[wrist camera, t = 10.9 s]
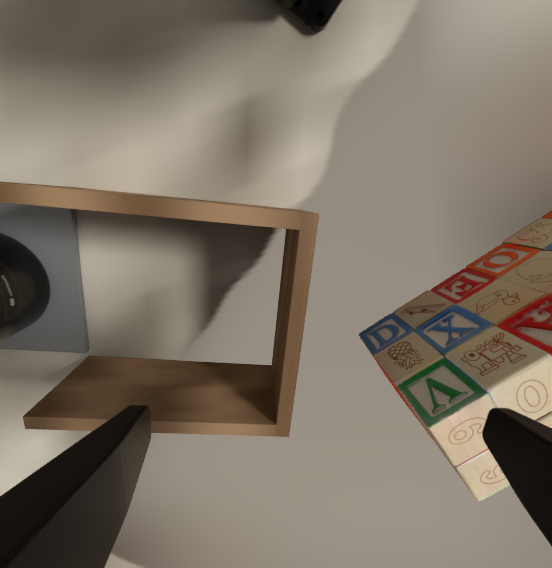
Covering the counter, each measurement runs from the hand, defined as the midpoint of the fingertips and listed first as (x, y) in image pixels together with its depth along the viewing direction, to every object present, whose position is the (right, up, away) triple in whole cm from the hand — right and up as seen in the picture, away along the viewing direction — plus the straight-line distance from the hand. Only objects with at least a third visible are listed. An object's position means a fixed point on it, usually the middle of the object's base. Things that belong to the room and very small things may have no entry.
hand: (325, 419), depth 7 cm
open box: (-7, +3, +12) cm, 15 cm away
